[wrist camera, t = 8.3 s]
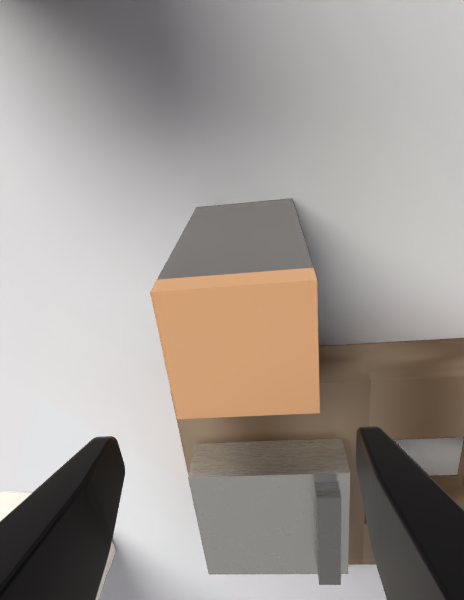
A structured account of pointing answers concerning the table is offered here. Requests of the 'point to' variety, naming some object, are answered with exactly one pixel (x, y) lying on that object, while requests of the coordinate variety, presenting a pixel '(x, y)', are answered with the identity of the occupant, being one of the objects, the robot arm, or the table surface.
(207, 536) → the panel
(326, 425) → the socket board
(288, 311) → the plug
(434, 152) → the table surface
